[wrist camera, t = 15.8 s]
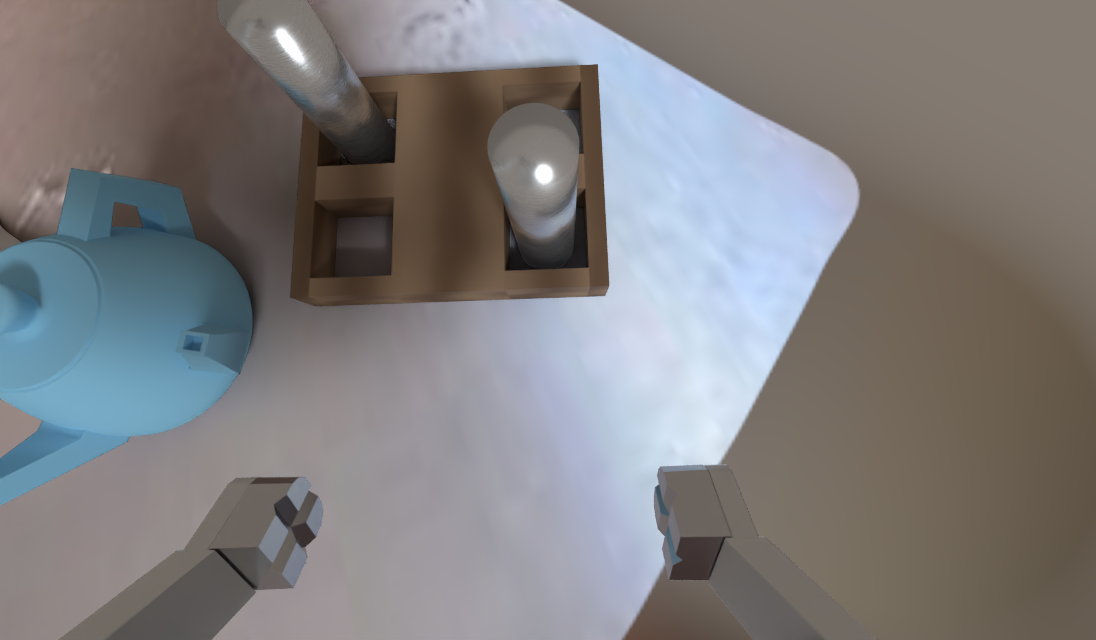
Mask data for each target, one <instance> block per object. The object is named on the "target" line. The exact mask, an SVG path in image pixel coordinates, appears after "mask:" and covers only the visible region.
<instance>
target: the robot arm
mask: <svg viewBox="0 0 1096 640" xmlns="http://www.w3.org/2000/svg"><path fill="white" fill-rule="evenodd" d="M18 243H21V242H20V241H19V240H18V239H16V238H15V237H13V236H12V235H10V234H9V233H8V232H6V231H5V230H4V229H3V228H2V227H1V226H0V252H1V251H3V250H5V249H7V248H9V247H11V246H13V245H16V244H18ZM657 477H658V482H659V485H657V486H656V487H655V492H654V510H655V517H656V522H657V527H658V530H659V531H660V532H661V533H662V534H663V535H664V536H665V538H664V543H663V547H662V550H663V555H664V559H665V564H666V568H667V573H668V577H669V580H709V581H708V583H709V584H710V586H711V587H712V588H713V590H714V591H715V592H716V593H717V594H718V596H719V597H720V598H721V600H722V601H723V602H724V603H725V605H726V606H727V607H728V609H729V610H730V611H731V612H732V614H733V615H734V616H735V617H736V619H737V620H738V621H739V623H740V624H741V625H742V626H743V628H744V629H745V630H746V632H747V633H748V634H749V635H750V637H751V638H752V639H753V640H877V639H876V638H875V637H874V636H873V635H872V634H871V633H870V632H869V631H868V630H867V629H866V628H864V627H863V626H862V625H861V624H860V623H859V622H858V621H857V620H856V619H855V618H853V617H852V616H851V615H850V614H849V613H848V612H847V611H846V610H845V609H844V608H843V607H841V606H840V605H839V604H838V603H837V602H836V601H835V600H834V599H833V598H832V597H831V596H829V594H828V593H826V592H825V591H824V590H823V589H822V588H821V587H820V586H819V585H818V584H817V583H816V582H815V581H813V580H812V579H811V578H810V577H809V576H807V574H806V573H805V572H804V571H803V570H801V569H800V568H799V567H798V566H797V565H796V564H795V563H794V562H793V561H792V560H790V558H788V557H787V556H786V555H785V554H784V553H783V552H782V551H781V550H780V549H779V548H778V547H776V546H775V545H774V544H773V543H772V542H771V541H770V540H769V539H768V538H766V537H759V535H758V533H757V531H756V528H755V526H754V523H753V521H752V518H751V516H750V514H749V511H748V508H747V506H746V504H745V501H744V499H743V496H742V494H741V491H740V489H739V486H738V484H737V482H736V479H735V477H734V474H733V472H732V470H731V468H730V467H729V466H728V465H724V464H723V465H684V466H662V467H660V468H659V469H658V474H657ZM310 487H311V484H310V482H309V481H308V480H307V478H306V477H250V478H236V479H234V480H233V481H232V482H230V483H229V484H228V485H227V486H226V488H225V489H224V491H223V492H222V494H221V495H220V497H219V498H218V500H217V501H216V503H215V504H214V506H213V507H212V509H211V510H210V512H209V513H208V515H207V516H206V517H205V519H204V520H203V522H202V523H201V525H200V526H199V528H198V529H197V531H196V532H195V534H194V535H193V537H192V538H191V540H190V541H189V543H188V544H187V546H186V547H185V549H184V550H179V551H175V552H174V553H173V554H172V555H170V556H169V557H168V558H166V559H165V560H164V561H162V562H161V563H160V564H158V565H157V566H156V567H154V568H153V569H152V570H150V571H149V572H148V573H146V574H145V575H144V576H142V577H141V578H140V579H138V580H137V581H136V582H134V583H133V584H132V585H130V586H129V587H128V588H126V589H125V590H124V591H122V592H121V593H120V594H118V595H117V596H116V597H114V598H113V599H112V600H110V601H109V602H108V603H106V604H105V605H104V606H103V607H101V608H100V609H99V610H97V611H96V612H95V613H93V614H92V615H91V616H89V617H88V618H87V619H85V620H84V621H83V622H81V623H80V624H79V625H77V626H76V627H75V628H73V629H72V630H71V631H69V632H68V633H67V634H65V635H64V636H63V637H61V638H60V639H59V640H212V639H213V638H214V636H215V635H216V634H217V633H218V632H219V631H220V630H221V629H222V628H223V627H224V626H225V625H226V624H227V623H228V622H229V621H230V619H231V618H232V617H233V616H234V615H235V614H236V613H237V612H238V611H239V610H240V609H241V608H242V607H243V606H244V605H245V604H246V603H247V601H248V600H249V599H250V598H251V597H252V596H253V595H254V594H255V593H256V591H255V590H266V589H286V588H294V586H295V584H296V582H297V580H298V577H299V575H300V573H301V571H302V568H303V566H304V564H305V562H306V559H307V553H306V549H305V547H306V546H307V545H308V544H309V543H310V542H311V541H312V540H314V539H315V538H316V536H317V534H318V531H319V529H320V527H321V524H322V517H323V506H322V502H321V500H320V498H319V497H318V496H317V495H315V494H314V493H312V492H310V491H309V489H310Z"/></svg>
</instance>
